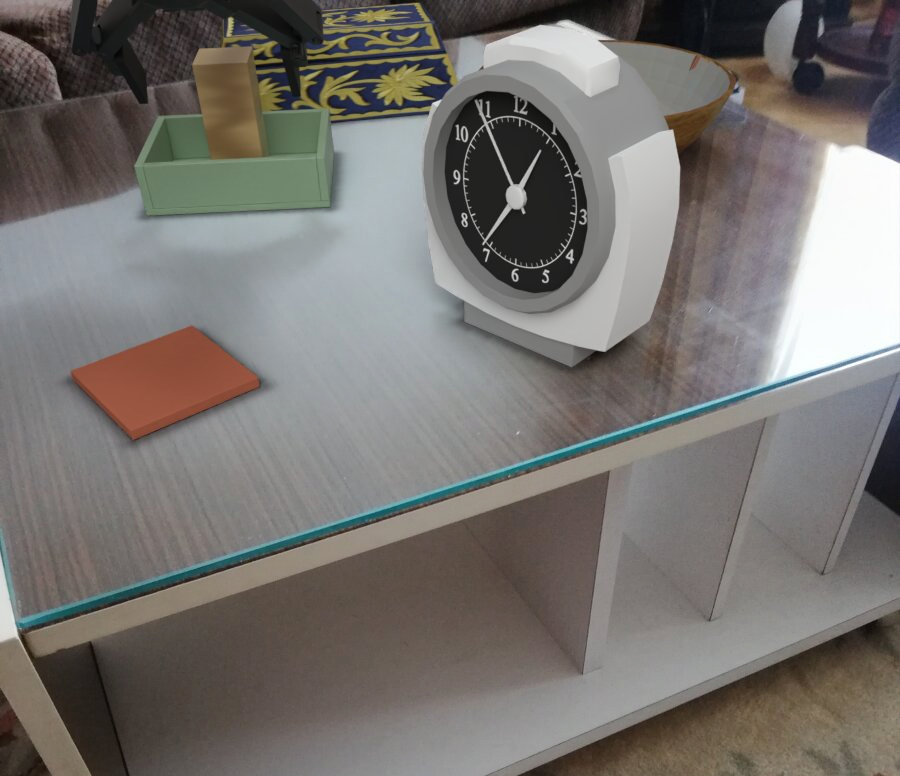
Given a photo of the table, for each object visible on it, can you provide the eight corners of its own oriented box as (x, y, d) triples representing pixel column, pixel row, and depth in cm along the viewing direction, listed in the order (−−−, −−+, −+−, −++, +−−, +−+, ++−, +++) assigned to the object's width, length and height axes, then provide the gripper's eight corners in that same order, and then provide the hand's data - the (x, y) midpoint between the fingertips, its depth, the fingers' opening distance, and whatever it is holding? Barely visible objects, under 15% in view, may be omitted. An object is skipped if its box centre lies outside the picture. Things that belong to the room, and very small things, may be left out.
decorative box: (468, 110, 107) (468, 21, 100) (208, 133, 103) (190, 43, 97) (451, 81, 114) (449, -3, 108) (207, 102, 111) (190, 16, 104)
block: (216, 188, 91) (191, 64, 83) (222, 169, 94) (199, 48, 86) (267, 186, 91) (247, 62, 83) (271, 167, 94) (252, 46, 86)
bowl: (429, 152, 98) (425, 68, 92) (612, 104, 107) (619, 25, 101) (574, 235, 83) (581, 141, 77) (773, 171, 92) (793, 83, 86)
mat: (73, 380, 68) (69, 370, 67) (194, 334, 72) (191, 324, 71) (133, 440, 62) (130, 430, 62) (260, 386, 66) (258, 377, 66)
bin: (146, 216, 88) (133, 166, 85) (168, 162, 97) (157, 115, 94) (330, 207, 88) (324, 157, 85) (334, 154, 98) (329, 108, 95)
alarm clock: (416, 314, 73) (400, 24, 59) (485, 275, 78) (486, -3, 63) (601, 394, 65) (636, 78, 50) (667, 346, 69) (716, 42, 55)
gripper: (-42, -28, 60) (81, 133, 81) (338, -44, 61) (361, 120, 82) (-49, -143, 60) (76, 49, 81) (331, -158, 61) (356, 36, 82)
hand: (219, 85), depth 82 cm, fingers open, 13 cm apart
